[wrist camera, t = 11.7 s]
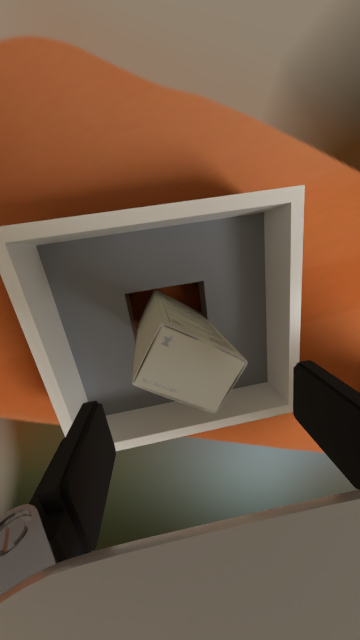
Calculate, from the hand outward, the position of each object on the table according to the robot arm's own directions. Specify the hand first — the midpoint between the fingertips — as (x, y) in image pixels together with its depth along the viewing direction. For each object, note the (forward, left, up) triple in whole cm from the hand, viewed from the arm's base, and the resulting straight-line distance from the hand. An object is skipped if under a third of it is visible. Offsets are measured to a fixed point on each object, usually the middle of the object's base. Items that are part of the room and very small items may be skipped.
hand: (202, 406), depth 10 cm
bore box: (0, 0, -15) cm, 15 cm away
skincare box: (0, 0, -15) cm, 15 cm away
